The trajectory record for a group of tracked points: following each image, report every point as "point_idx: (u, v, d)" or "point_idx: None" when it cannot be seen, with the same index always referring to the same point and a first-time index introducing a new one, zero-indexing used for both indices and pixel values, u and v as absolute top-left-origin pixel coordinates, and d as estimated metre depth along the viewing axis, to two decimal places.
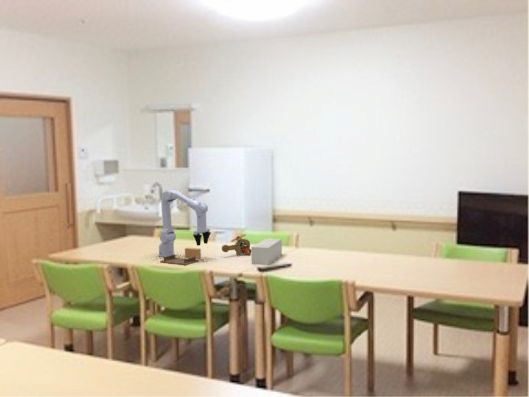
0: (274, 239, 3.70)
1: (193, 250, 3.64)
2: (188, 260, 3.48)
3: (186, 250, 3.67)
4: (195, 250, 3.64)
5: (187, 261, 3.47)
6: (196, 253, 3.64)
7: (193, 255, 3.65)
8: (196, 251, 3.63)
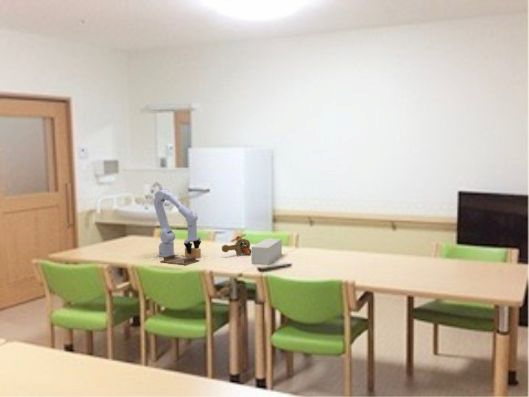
0: (274, 239, 3.70)
1: (193, 250, 3.64)
2: (188, 260, 3.48)
3: (186, 250, 3.67)
4: (195, 250, 3.64)
5: (187, 261, 3.47)
6: (196, 253, 3.64)
7: (193, 255, 3.65)
8: (196, 251, 3.63)
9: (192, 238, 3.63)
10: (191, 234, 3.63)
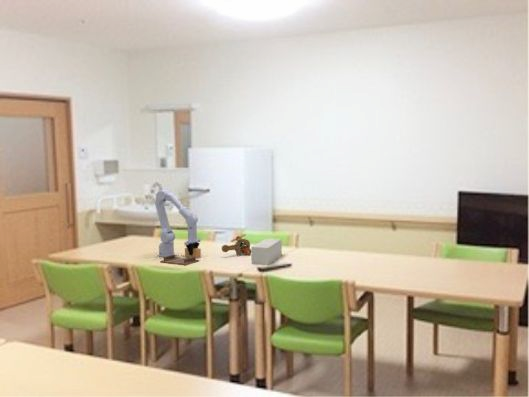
0: (274, 239, 3.70)
1: (193, 249, 3.64)
2: (188, 260, 3.48)
3: (186, 250, 3.67)
4: (195, 250, 3.64)
5: (187, 261, 3.47)
6: (196, 253, 3.64)
7: (193, 255, 3.65)
8: (196, 251, 3.63)
9: (192, 240, 3.63)
10: (191, 236, 3.63)
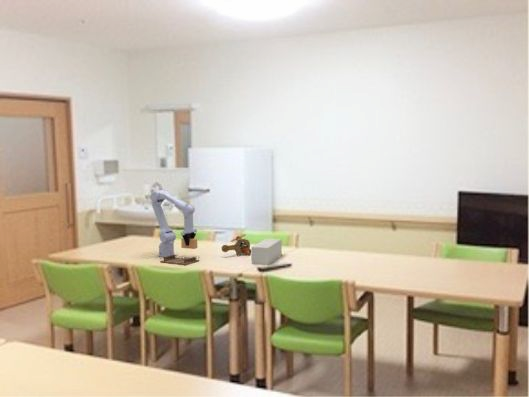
0: (274, 239, 3.70)
1: (190, 240, 3.60)
2: (188, 260, 3.48)
3: (182, 240, 3.63)
4: (192, 240, 3.60)
5: (187, 261, 3.47)
6: (193, 243, 3.59)
7: (190, 245, 3.61)
8: (193, 241, 3.59)
9: (188, 230, 3.59)
10: (187, 226, 3.59)
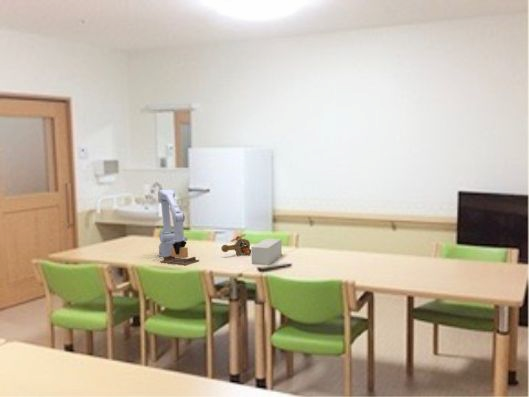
0: (274, 239, 3.70)
1: (180, 249, 3.50)
2: (188, 260, 3.48)
3: (173, 249, 3.53)
4: (182, 249, 3.50)
5: (187, 261, 3.47)
6: (183, 252, 3.50)
7: (180, 254, 3.51)
8: (183, 250, 3.50)
9: (179, 238, 3.50)
10: (177, 234, 3.50)
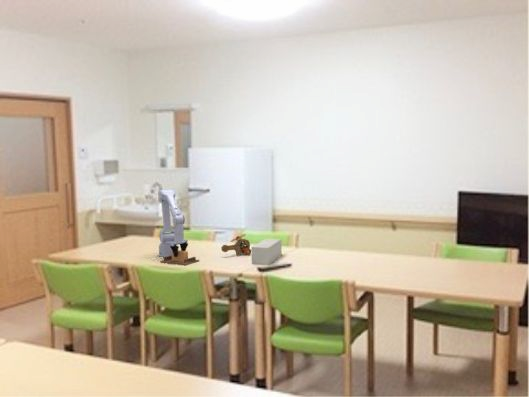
0: (274, 239, 3.70)
1: (180, 252, 3.51)
2: (188, 260, 3.48)
3: None
4: (182, 253, 3.50)
5: (187, 261, 3.47)
6: (183, 256, 3.50)
7: (180, 258, 3.51)
8: (183, 254, 3.50)
9: (179, 241, 3.50)
10: (178, 236, 3.50)
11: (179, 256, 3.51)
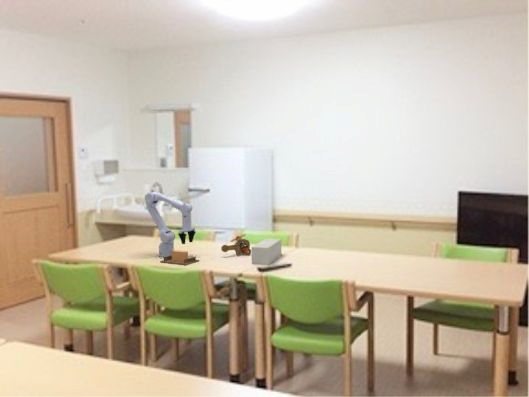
0: (274, 239, 3.70)
1: (180, 252, 3.51)
2: (188, 260, 3.48)
3: (173, 253, 3.54)
4: (182, 253, 3.50)
5: (187, 261, 3.47)
6: (183, 256, 3.50)
7: (180, 258, 3.51)
8: (183, 254, 3.50)
9: (186, 228, 3.63)
10: (185, 224, 3.63)
11: (179, 256, 3.51)
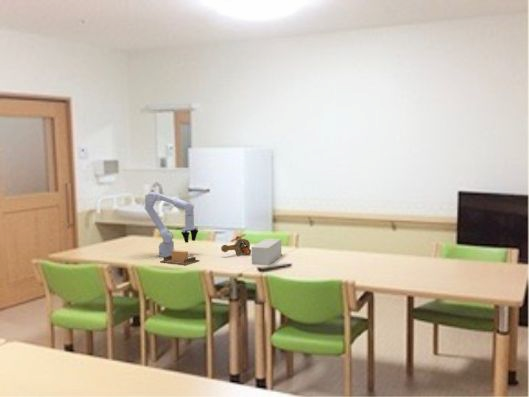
0: (274, 239, 3.70)
1: (180, 252, 3.51)
2: (188, 260, 3.48)
3: (173, 253, 3.54)
4: (182, 253, 3.50)
5: (187, 261, 3.47)
6: (183, 256, 3.50)
7: (180, 258, 3.51)
8: (183, 254, 3.50)
9: (189, 227, 3.69)
10: (188, 223, 3.68)
11: (179, 256, 3.51)
